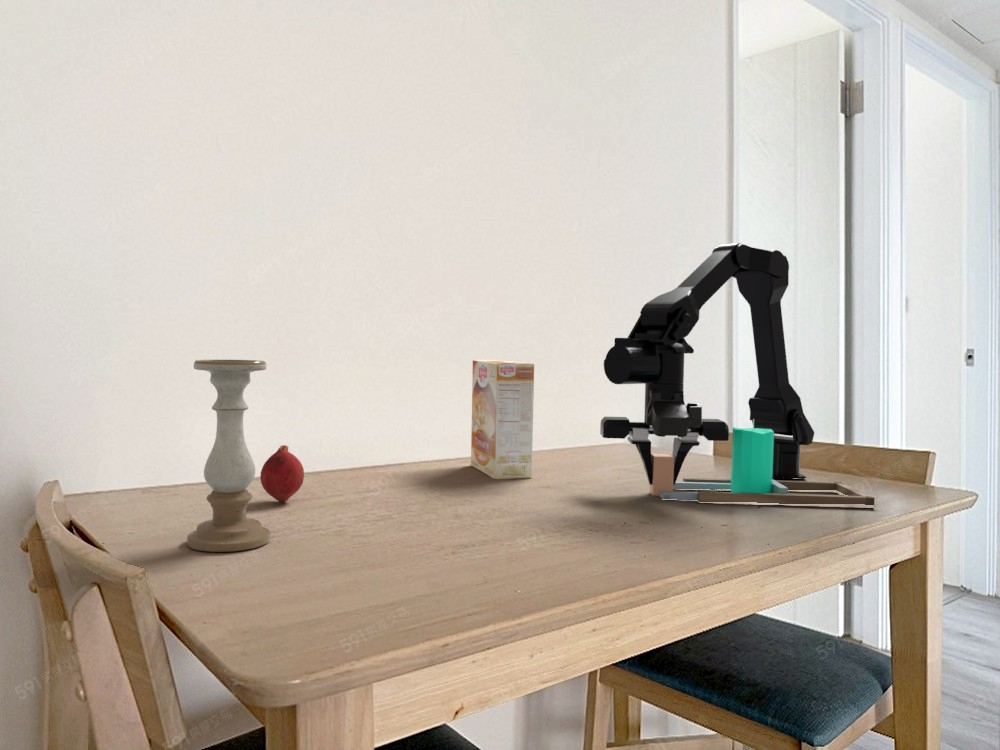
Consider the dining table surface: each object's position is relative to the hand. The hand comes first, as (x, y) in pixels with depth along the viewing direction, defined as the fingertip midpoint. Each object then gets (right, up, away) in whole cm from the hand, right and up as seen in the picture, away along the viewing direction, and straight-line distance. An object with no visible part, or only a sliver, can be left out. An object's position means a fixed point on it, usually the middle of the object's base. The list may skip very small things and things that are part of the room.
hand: (661, 484), depth 123 cm
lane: (+17, -2, -1) cm, 17 cm away
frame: (+8, -2, 0) cm, 8 cm away
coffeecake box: (-25, 0, +18) cm, 31 cm away
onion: (-55, -1, -12) cm, 56 cm away
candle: (+13, -2, -1) cm, 14 cm away
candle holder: (-55, -2, -34) cm, 65 cm away
